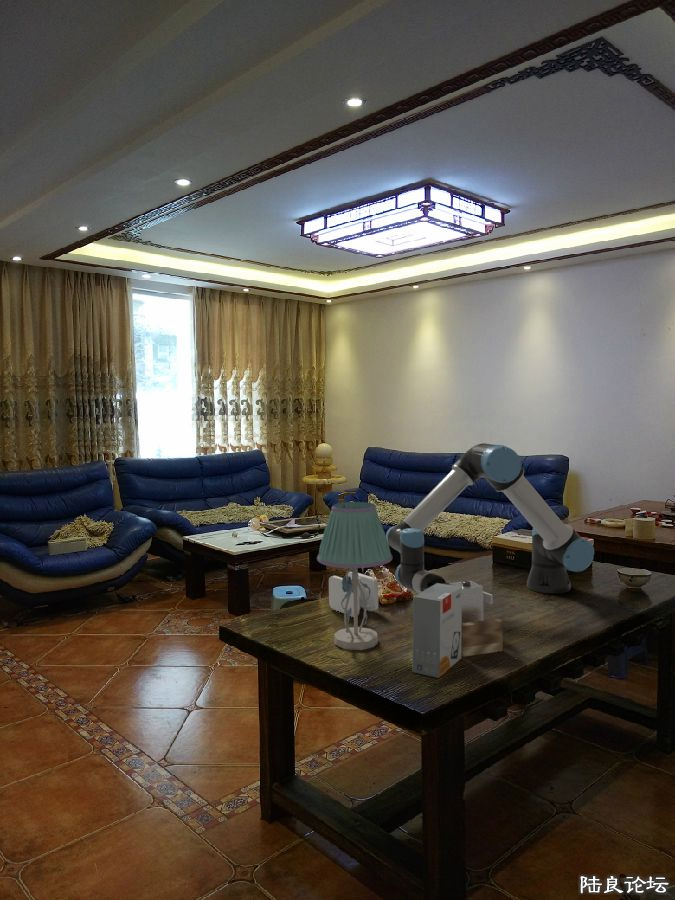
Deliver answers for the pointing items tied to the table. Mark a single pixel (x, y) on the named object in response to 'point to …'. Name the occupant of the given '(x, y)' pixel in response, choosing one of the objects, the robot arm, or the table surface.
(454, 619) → the hard drive box
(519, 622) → the table surface
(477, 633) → the dock
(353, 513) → the table lamp
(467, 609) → the block
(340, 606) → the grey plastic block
